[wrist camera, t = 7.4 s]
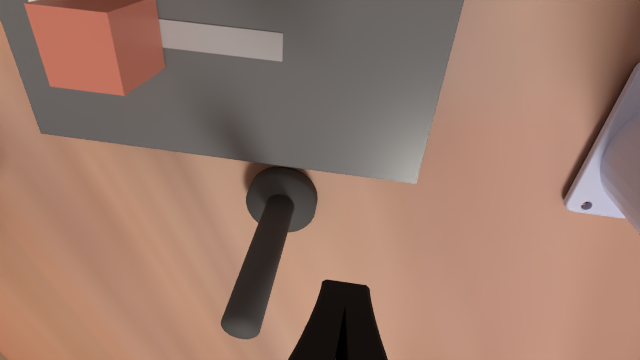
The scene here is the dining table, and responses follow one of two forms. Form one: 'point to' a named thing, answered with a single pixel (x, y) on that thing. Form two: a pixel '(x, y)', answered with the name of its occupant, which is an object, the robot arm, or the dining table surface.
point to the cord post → (267, 243)
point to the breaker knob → (97, 43)
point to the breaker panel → (269, 83)
